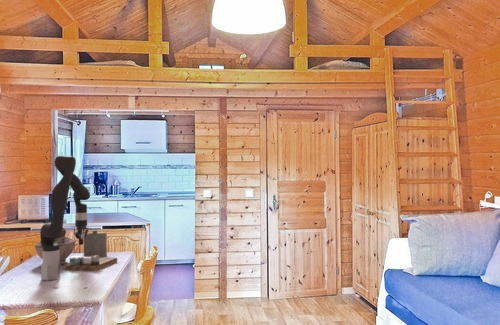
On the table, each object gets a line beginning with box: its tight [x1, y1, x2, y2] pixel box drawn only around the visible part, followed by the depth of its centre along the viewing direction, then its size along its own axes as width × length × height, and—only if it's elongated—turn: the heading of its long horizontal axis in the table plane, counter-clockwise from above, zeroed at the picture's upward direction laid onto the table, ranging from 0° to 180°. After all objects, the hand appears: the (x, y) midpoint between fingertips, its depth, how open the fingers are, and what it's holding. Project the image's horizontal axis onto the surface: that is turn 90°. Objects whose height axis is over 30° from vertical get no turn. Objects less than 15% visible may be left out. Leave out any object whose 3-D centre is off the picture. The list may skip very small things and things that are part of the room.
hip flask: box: [83, 229, 108, 257], centre depth 294 cm, size 16×4×20 cm, turn 105°
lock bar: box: [69, 255, 99, 265], centre depth 262 cm, size 20×5×5 cm, turn 75°
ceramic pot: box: [34, 227, 76, 266], centre depth 276 cm, size 25×25×24 cm
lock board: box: [62, 256, 118, 272], centre depth 269 cm, size 24×25×7 cm
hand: (81, 244), depth 270 cm, fingers closed
